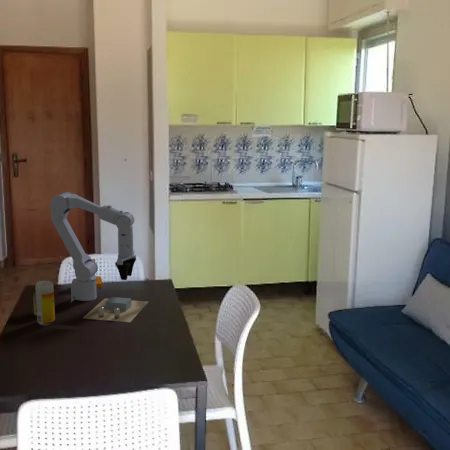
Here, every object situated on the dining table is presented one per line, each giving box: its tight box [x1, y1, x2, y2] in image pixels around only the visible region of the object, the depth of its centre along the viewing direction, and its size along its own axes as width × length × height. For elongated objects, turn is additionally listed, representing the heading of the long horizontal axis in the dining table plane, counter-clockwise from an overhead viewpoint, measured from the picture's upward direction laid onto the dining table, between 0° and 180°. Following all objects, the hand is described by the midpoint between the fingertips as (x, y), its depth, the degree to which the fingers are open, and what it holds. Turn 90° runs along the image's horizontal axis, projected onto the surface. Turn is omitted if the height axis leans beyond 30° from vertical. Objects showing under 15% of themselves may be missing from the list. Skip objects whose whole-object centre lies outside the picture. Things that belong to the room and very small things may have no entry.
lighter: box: [32, 291, 37, 316], centre depth 211 cm, size 7×4×10 cm, turn 96°
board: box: [82, 297, 149, 323], centre depth 214 cm, size 18×22×1 cm
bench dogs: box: [98, 306, 120, 319], centre depth 206 cm, size 8×2×4 cm, turn 80°
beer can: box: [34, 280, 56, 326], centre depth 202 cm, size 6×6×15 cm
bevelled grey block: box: [106, 296, 132, 311], centre depth 216 cm, size 8×6×3 cm
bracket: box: [91, 258, 104, 289], centre depth 244 cm, size 11×7×12 cm, turn 17°
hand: (126, 277), depth 223 cm, fingers open, 5 cm apart
